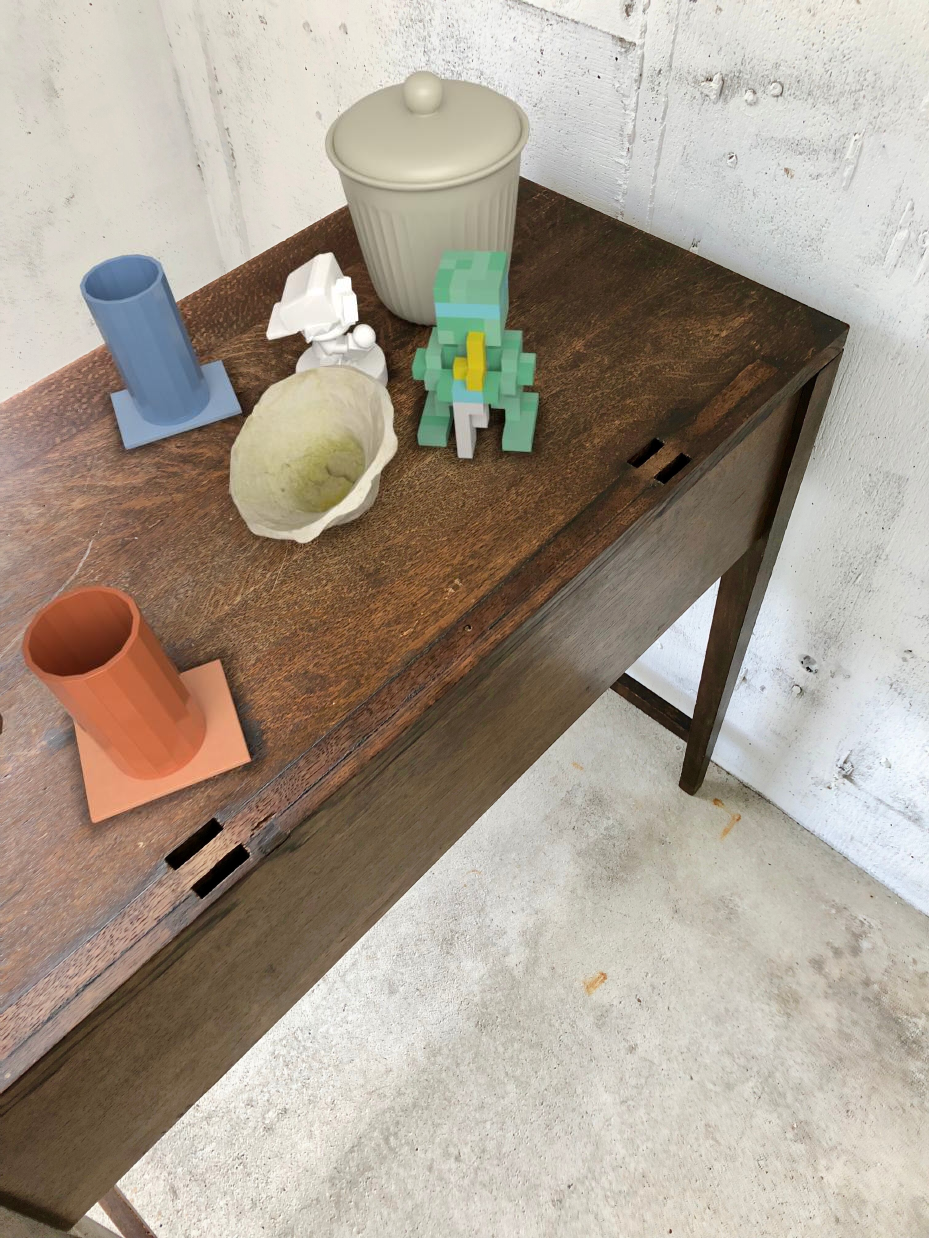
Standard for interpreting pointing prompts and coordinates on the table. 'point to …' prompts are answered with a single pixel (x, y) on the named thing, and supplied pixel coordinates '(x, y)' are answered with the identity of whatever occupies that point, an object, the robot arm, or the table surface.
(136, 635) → the terracotta cup
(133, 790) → the peach mat
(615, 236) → the table surface
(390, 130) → the canister
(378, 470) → the bowl
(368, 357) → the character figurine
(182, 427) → the blue mat
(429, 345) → the toy
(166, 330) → the blue cup
